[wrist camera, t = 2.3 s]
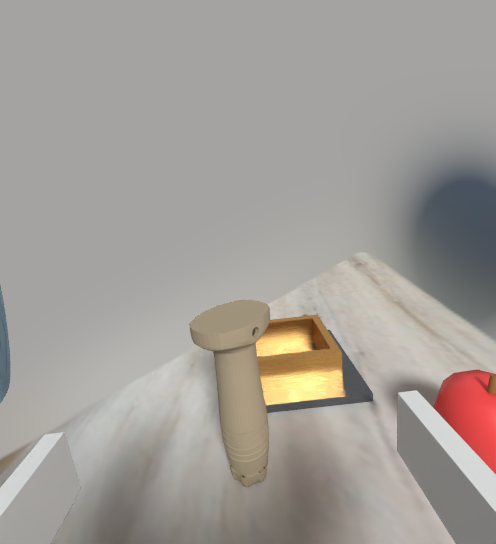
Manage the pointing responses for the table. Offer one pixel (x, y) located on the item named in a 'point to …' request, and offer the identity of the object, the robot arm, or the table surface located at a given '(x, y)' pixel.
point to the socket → (306, 367)
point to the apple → (471, 411)
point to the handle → (238, 382)
